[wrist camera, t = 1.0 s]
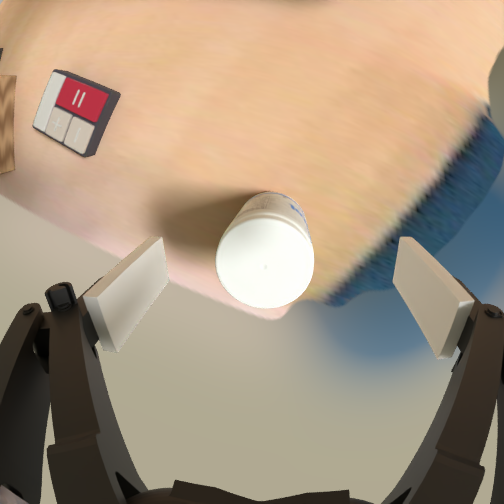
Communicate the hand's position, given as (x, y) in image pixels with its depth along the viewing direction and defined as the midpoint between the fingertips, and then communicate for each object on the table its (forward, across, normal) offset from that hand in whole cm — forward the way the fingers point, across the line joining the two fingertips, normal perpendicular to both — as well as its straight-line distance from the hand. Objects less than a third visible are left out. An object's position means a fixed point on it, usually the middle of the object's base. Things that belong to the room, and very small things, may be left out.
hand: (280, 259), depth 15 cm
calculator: (+25, -33, +15) cm, 44 cm away
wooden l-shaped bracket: (+24, -57, +19) cm, 65 cm away
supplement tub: (+25, -2, -6) cm, 25 cm away
